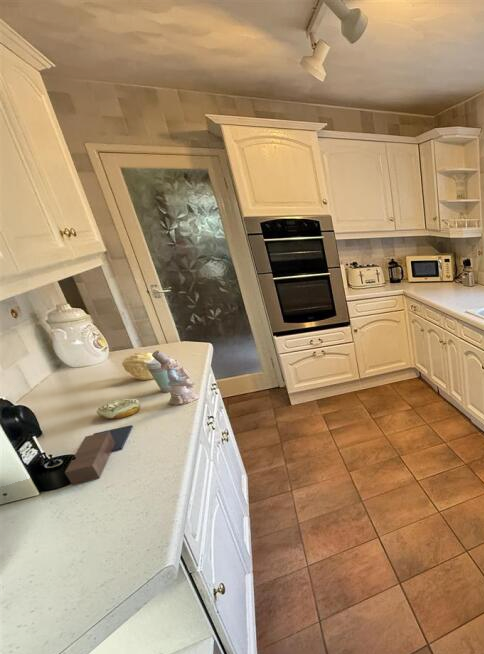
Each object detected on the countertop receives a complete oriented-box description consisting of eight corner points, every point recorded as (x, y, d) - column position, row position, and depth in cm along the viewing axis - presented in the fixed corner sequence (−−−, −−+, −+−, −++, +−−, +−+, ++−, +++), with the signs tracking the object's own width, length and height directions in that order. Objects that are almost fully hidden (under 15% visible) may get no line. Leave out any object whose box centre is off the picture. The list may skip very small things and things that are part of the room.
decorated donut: (110, 423, 127) (105, 413, 125) (94, 417, 131) (88, 407, 129) (148, 409, 135) (144, 399, 134) (131, 404, 139) (127, 394, 138)
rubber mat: (122, 449, 112) (121, 447, 112) (78, 459, 108) (77, 458, 108) (133, 426, 125) (132, 424, 124) (94, 435, 120) (93, 433, 120)
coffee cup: (176, 383, 156) (164, 355, 151) (190, 386, 153) (178, 357, 148) (151, 392, 149) (138, 362, 144) (166, 395, 146) (153, 365, 141)
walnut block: (92, 465, 98) (109, 431, 113) (64, 472, 96) (85, 436, 110) (99, 478, 100) (115, 442, 114) (72, 485, 98) (92, 448, 112)
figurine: (170, 408, 136) (147, 354, 127) (168, 401, 141) (146, 348, 133) (201, 400, 141) (181, 347, 133) (198, 393, 147) (179, 342, 139)
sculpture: (124, 383, 158) (112, 357, 154) (149, 371, 169) (139, 348, 164) (152, 382, 158) (142, 357, 153) (176, 371, 169) (166, 347, 164)
